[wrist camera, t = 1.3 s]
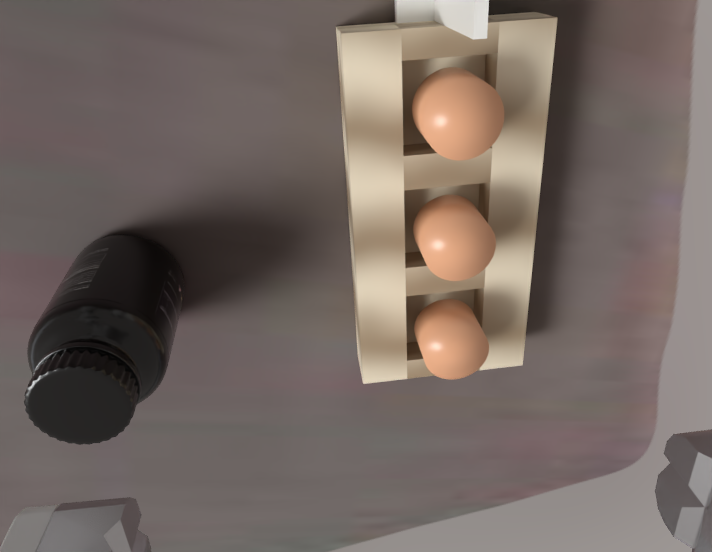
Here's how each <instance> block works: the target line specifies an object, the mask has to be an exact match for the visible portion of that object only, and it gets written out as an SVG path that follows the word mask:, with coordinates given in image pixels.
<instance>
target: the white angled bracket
mask: <svg viewBox="0 0 712 552" xmlns="http://www.w3.org/2000/svg"><path fill="white" fill-rule="evenodd" d="M488 10H489V0H395V22H396V23H409V22H423V21H436V22H438V23H440V24H442V25H444V26H446V27H448V28H450V29H452V30H454V31H457V32H459V33H461V34H463V35H465V36H467V37H469V38H471V39H473V40H474V39H487V30H488Z"/></svg>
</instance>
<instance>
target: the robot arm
mask: <svg viewBox="0 0 712 552" xmlns="http://www.w3.org/2000/svg"><path fill="white" fill-rule="evenodd" d="M664 455H665V456H666V457H667V459H668V460H669V462H670V464H669V465H668V466H667V467H666V468H665V469H664V470H663V471H662V472H661V473H660V474H659V475H658V479H657V485H656V489H655V493H656V498H657V504H658V509H659V511H660V514H661V516H662V519H663V521H664V523H665V525H666V526H667V528H668V529H669V531H670V532H671V534H672V535H673V537H675V538H676V539H678V540H680V541H681V542H683V543H685V544H686V545H688V546H689V547H691V548H692V552H712V430H704V431H696V432H688V433H680V434H673V436H671V438H670V439H669V440H668V441H667V444H666V447H665V451H664ZM140 518H141V512H140V510H139V507H138V504H137V501H136V499H134V498H130V497H129V498H118V499H107V500H96V501H85V502H74V503H63V504H59V505H48V506H37V507H26V508H24V509H23V510H22V511H21V512H20V513H19V514H18V515H17V516H16V517H15V519H14V521H13V523H12V525H11V527H10V529H9V531H8V533H7V535H6V537H5V539H4V541H3V543H2V545H1V547H0V552H152V551H151V546H150V542H149V539H148V536H147V535H145V534H144V533H142V532H141V531H139V530H138V526H139V522H140Z"/></svg>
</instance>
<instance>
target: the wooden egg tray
mask: <svg viewBox="0 0 712 552" xmlns="http://www.w3.org/2000/svg"><path fill="white" fill-rule="evenodd" d="M557 18H558V17H554V16H550V15H546V14H542V13H538V12H526V13H512V14H499V15H488V30H487V39H474V40H473V39H471V38H469V37H467V36H465V35H463V34H461V33H459V32H457V31H454V30H452V29H450V28H448V27H446V26H444V25H442V24H440V23H438V22H436V21H423V22H409V23H396V22H390V23H377V24H363V25H349V26H336V33H337V48H338V63H339V78H340V93H341V108H342V123H343V138H344V153H345V168H346V183H347V198H348V213H349V228H350V243H351V259H352V274H353V289H354V304H355V319H356V334H357V349H358V359H359V365H360V370H361V375H362V380H363V384H366V383H375V382H383V381H392V380H400V379H409V378H417V377H426V376H435V375H434V374H432V373H431V372H430V371H429V370H428V368H427V367H426V364H425V362H424V359H423V356H422V353H421V350H420V348H419V345H418V342H417V339H416V336H415V333H414V325H415V321H416V318H417V317H418V315H419V313H420V312H421V311H422V310H423V309H424V308H425V307H426V306H428V305H429V304H431V303H433V302H435V301H438V300H442V299H456V300H459V301H462V302H464V303H465V304H467V305H468V306H469V307H470V308H471V309H472V311H473V313H474V315H475V317H476V319H477V321H478V323H479V324H480V326H481V328H482V330H483V332H484V334H485V336H486V338H487V340H488V342H489V353H488V356H487V359H486V361H485V362H484V364H483V365H482V366H481V367H480V368H479V369H478V370H486V369H494V368H503V367H511V366H520V365H523V355H524V345H525V335H526V325H527V316H528V306H529V296H530V286H531V276H532V266H533V256H534V246H535V236H536V226H537V216H538V207H539V197H540V187H541V177H542V167H543V157H544V147H545V137H546V127H547V117H548V108H549V98H550V88H551V78H552V68H553V58H554V48H555V38H556V28H557ZM448 67H457V68H462V69H465V70H467V71H469V72H471V73H472V74H474V75H475V76H477V77H479V78H480V79H482V80H483V81H485V82H486V83H488V84H489V85H491V86H492V87H493V88H494V89H495V90H496V91H497V93H498V94H499V96H500V97H501V100H502V102H503V106H504V123H503V127H502V130H501V133H500V135H499V137H498V138H497V140H496V141H495V143H494V144H493V145H492V146H491V147H490V148H489V149H488V150H487V151H485V152H484V153H483V154H481V155H479V156H477V157H475V158H472V159H469V160H460V161H457V160H451V159H447V158H445V157H443V156H441V155H439V154H438V153H437V152H436V151H435V150H434V149H433V148H432V147H431V146H430V144H429V143H428V142H427V140H426V139H425V138H424V137H423V135H422V134H421V133H420V131H419V130H418V128H417V127H416V125H415V122H414V120H413V115H412V103H413V99H414V95H415V93H416V91H417V89H418V87H419V86H420V84H421V83H422V82H423V81H424V80H425V79H426V78H427V77H428V76H429V75H430V74H432V73H434V72H435V71H438V70H440V69H443V68H448ZM443 195H458V196H462V197H464V198H466V199H468V200H469V201H471V202H472V203H473V204H474V206H475V207H476V208H477V210H478V211H479V212H480V214H481V215H482V216H483V218H484V219H485V220H486V221H487V223H488V224H489V225H490V227H491V228H492V230H493V232H494V234H495V238H496V249H495V253H494V256H493V258H492V260H491V261H490V263H489V264H488V266H487V267H486V268H485V269H484V270H483V271H481V272H480V273H479V274H477V275H476V276H474V277H472V278H469V279H466V280H462V281H449V280H444V279H441V278H439V277H438V276H436V275H435V274H433V273H432V272H431V271H430V269H429V268H428V266H427V264H426V262H425V260H424V258H423V256H422V254H421V251H420V249H419V247H418V245H417V243H416V241H415V238H414V234H413V225H414V221H415V218H416V216H417V214H418V212H419V211H420V209H421V208H422V207H423V206H424V205H425V204H426V203H428V202H429V201H430V200H432V199H434V198H436V197H439V196H443Z"/></svg>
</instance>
